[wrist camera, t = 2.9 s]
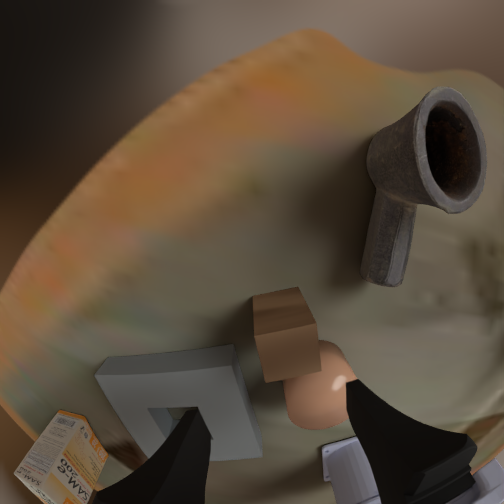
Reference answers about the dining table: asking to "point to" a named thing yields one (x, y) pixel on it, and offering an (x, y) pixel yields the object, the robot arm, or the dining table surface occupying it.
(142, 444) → the block
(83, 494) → the supplement box
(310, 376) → the peach egg-shaped blob
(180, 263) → the dining table surface
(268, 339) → the square peg
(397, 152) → the pipe
